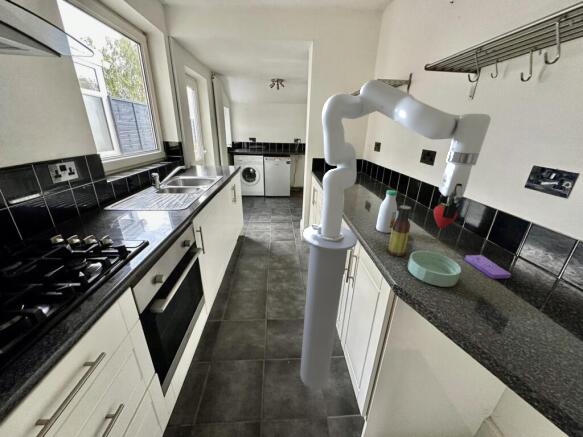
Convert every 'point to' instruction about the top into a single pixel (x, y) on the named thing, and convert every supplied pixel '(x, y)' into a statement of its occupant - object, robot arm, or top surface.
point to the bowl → (434, 268)
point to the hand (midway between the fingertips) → (444, 213)
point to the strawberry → (438, 216)
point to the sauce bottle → (400, 232)
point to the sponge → (487, 266)
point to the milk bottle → (387, 212)
